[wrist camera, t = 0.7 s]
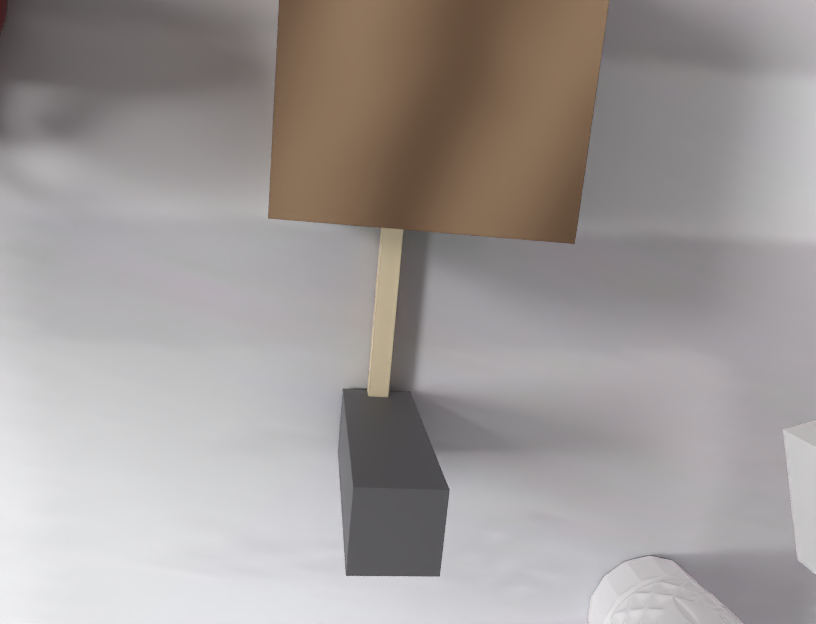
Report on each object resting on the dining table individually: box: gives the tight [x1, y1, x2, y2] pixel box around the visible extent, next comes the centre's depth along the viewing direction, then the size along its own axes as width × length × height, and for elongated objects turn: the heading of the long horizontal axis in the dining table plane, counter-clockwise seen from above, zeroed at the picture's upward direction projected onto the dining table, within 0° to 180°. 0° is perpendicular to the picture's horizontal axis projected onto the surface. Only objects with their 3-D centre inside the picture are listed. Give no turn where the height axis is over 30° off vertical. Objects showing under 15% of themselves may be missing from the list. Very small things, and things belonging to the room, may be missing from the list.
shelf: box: [268, 0, 609, 244], centre depth 26 cm, size 10×13×11 cm
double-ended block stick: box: [338, 228, 449, 576], centre depth 28 cm, size 6×21×11 cm, turn 175°
